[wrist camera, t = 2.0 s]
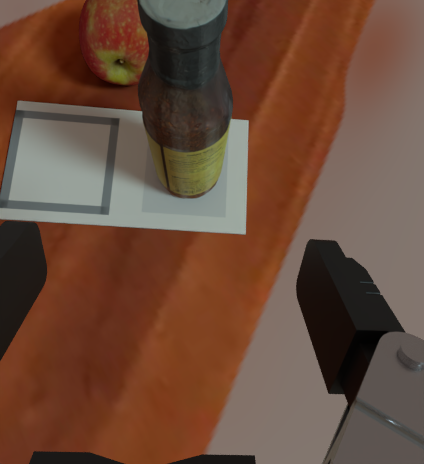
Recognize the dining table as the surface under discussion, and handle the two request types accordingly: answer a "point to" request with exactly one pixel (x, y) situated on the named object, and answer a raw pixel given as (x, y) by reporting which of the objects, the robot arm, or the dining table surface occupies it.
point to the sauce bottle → (185, 93)
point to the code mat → (110, 173)
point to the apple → (113, 40)
